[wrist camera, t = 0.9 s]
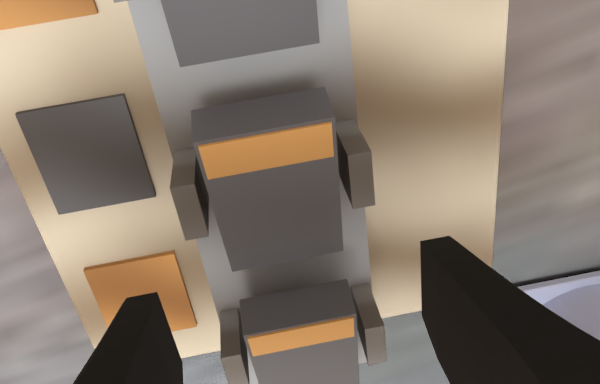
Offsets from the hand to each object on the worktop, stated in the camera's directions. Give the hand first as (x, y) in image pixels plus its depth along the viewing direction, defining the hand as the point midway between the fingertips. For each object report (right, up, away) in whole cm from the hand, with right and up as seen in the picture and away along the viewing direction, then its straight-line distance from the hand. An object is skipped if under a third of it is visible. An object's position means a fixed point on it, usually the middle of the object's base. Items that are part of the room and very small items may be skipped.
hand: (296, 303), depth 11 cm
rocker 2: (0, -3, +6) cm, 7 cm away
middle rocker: (-1, +2, +3) cm, 4 cm away
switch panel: (-1, +5, +8) cm, 9 cm away
